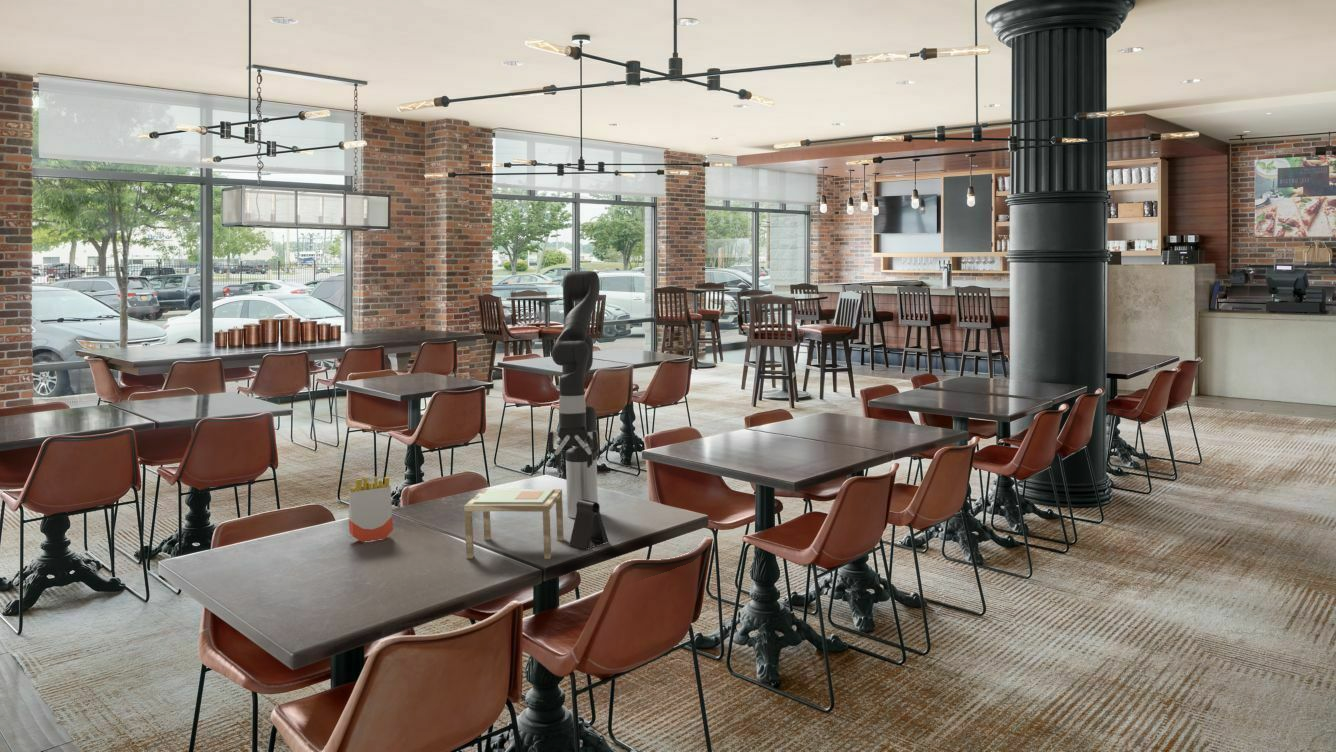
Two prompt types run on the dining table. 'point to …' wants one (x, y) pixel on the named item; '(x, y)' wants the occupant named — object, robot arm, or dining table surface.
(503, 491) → the pale green book
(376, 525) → the french fries container
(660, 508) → the dining table surface
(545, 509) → the miniature wooden table
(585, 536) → the black a-frame stand
